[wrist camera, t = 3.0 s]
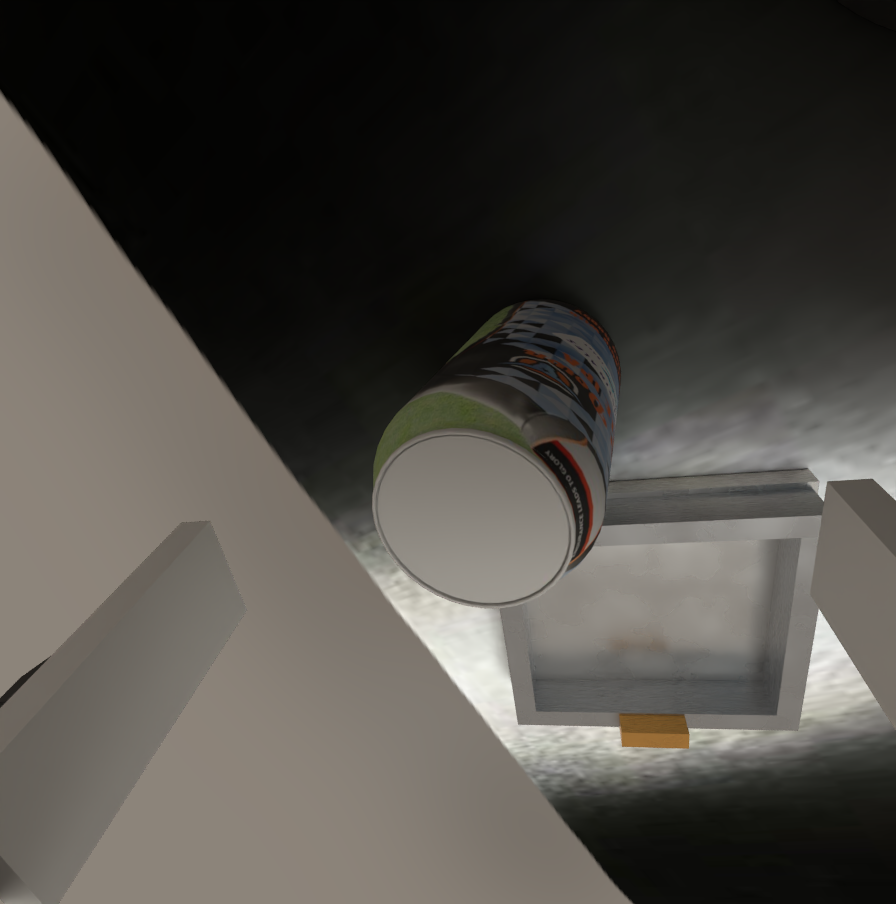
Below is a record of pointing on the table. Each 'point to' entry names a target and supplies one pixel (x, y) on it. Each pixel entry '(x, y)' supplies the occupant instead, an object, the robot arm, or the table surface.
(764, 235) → the table surface
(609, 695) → the tray
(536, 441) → the beverage can
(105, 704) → the robot arm
